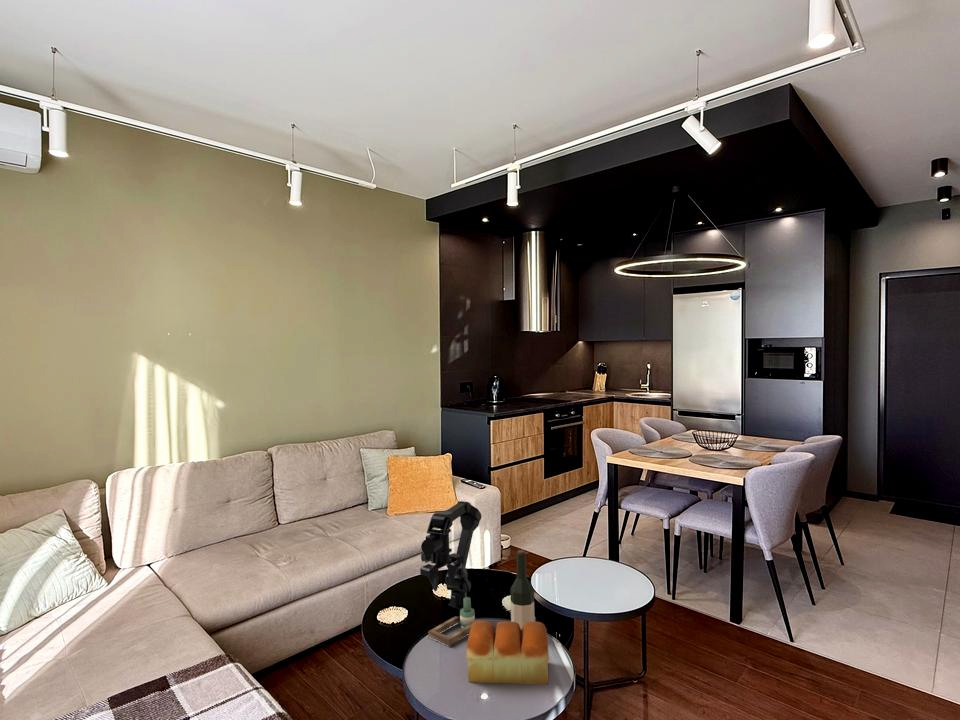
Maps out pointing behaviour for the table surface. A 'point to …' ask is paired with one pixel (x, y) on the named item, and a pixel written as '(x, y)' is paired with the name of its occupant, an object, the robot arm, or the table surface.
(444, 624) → the wooden tray
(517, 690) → the table surface
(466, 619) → the bottle
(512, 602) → the wine bottle
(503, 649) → the bread
